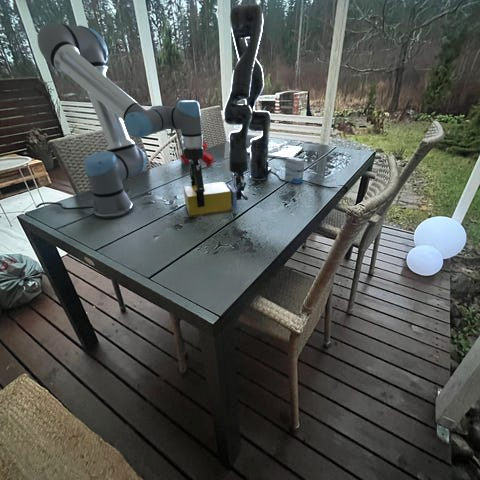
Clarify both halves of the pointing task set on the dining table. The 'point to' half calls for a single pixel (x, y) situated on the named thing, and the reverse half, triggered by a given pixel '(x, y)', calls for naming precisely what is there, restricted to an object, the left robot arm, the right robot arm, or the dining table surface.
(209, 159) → the toy gun
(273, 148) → the relief map
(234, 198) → the drawer
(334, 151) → the dining table surface
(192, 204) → the yellow rectangular box
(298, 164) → the ink box
